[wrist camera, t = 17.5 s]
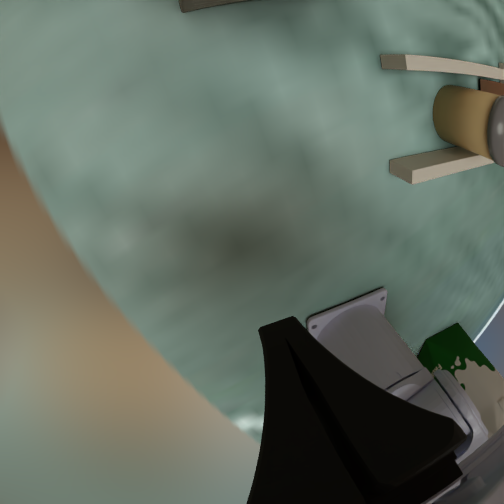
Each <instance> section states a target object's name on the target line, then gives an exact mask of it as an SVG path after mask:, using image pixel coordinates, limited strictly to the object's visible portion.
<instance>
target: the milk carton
mask: <svg viewBox="0 0 504 504" xmlns="http://www.w3.org/2000/svg"><path fill="white" fill-rule="evenodd" d="M417 359H418V360H419V361H420V363H421V364H422V365H423V367H426V368H427V370H428V371H429V372H430V374H431V375H432V376H433V378H434V379H435V380H436V382H437V383H438V384H439V382H438V380H437V379H436V377H435V376H434V374H433V373H434V372H435V371H436V370H437V369H440V370H447V371H449V372H450V373H451V374H452V375H453V377H454V378H455V379H456V380H457V381H458V383H459V384H460V385H461V387H462V388H463V389H464V391H465V392H466V393H467V395H468V396H469V397H470V399H471V400H472V402H473V403H474V405H475V407H476V408H477V410H478V412H479V413H480V416H481V420H482V422H483V423H484V425H485V427H486V428H487V430H488V432H489V433H488V435H487V436H488V438H490V437H491V436H492V435H493V434H495V433H496V432H497V431H498V430H499V429H500V428H501V427H502V426H503V425H504V379H503V377H502V376H501V375H500V374H499V372H498V371H497V370H496V369H495V367H494V366H493V365H492V364H491V363H490V361H489V360H488V359H487V358H486V357H485V356H484V354H483V353H482V352H481V351H480V350H479V349H478V347H477V346H476V345H475V344H474V342H473V341H472V340H471V339H470V337H469V336H468V335H467V333H466V332H465V331H464V330H463V328H462V327H461V326H460V325H459V323H457V324H455V325H453V326H451V327H449V328H447V329H446V330H444V331H442V332H440V333H438V334H436V335H434V336H432V337H430V338H428V339H426V341H425V343H424V345H423V347H422V350H421V352H420V354H419V356H418V358H417ZM439 386H440V384H439ZM440 387H441V386H440ZM441 388H442V387H441ZM442 390H443V389H442ZM443 391H444V390H443ZM444 392H445V391H444ZM445 394H446V393H445ZM460 415H461V414H460Z"/></svg>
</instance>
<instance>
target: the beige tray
mask: <svg viewBox="0 0 504 504" xmlns="http://www.w3.org/2000/svg"><path fill="white" fill-rule="evenodd" d="M380 58H381V64H382V69H398V70H419V71H437V72H450V73H460V74H468V75H476V76H483V77H489V78H495V79H500V83H503V84H504V64H503V63H499V68H496V67H491V66H487V65H482V64H477V63H471V62H466V61H460V60H453V59H446V58H438V57H429V56H419V55H403V54H393V55H380ZM490 163H494V161H492V160H490V159H488V158H486V157H483V156H481V155H479V154H476V153H474V152H471V151H469V150H467V149H464V148H461V147H459V146H458V147H452V148H447V149H441V150H436V151H431V152H426V153H421V154H416V155H411V156H406V157H401V158H397V159H392V160H390V173H391V174H393V175H395V176H397V177H399V178H401V179H402V180H404V181H406V182H408V183H410V184H412V185H413V184H416V183H420V182H423V181H427V180H431V179H434V178H438V177H442V176H445V175H449V174H453V173H456V172H460V171H464V170H468V169H471V168H475V167H479V166H483V165H486V164H490Z"/></svg>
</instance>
